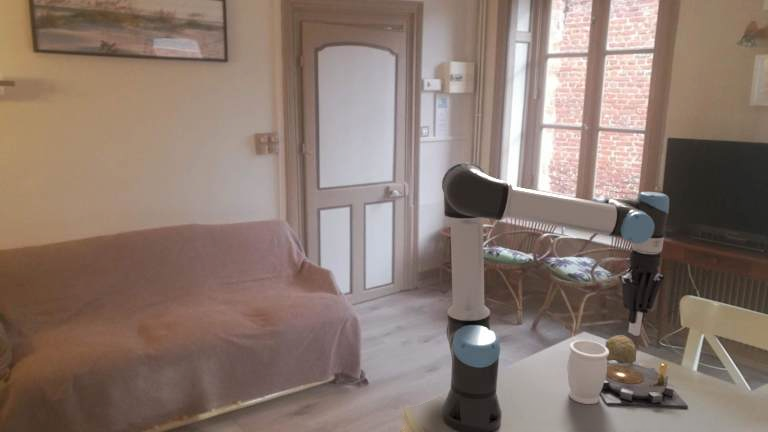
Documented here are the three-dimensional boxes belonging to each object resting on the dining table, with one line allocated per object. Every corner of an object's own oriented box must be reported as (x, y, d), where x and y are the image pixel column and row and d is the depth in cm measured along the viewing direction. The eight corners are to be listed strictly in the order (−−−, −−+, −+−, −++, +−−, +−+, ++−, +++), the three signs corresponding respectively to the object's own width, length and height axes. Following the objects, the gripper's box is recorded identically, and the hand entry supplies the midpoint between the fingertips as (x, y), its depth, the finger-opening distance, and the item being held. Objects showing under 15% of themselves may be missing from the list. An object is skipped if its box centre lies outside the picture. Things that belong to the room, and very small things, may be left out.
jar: (606, 409, 161) (612, 358, 157) (566, 404, 162) (571, 353, 159) (600, 390, 171) (605, 341, 167) (563, 385, 173) (567, 337, 169)
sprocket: (585, 388, 169) (588, 362, 167) (601, 359, 187) (604, 336, 186) (668, 410, 158) (672, 383, 157) (676, 378, 177) (680, 353, 175)
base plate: (582, 367, 184) (582, 364, 184) (653, 370, 184) (654, 367, 183) (606, 405, 163) (606, 401, 162) (687, 408, 162) (688, 404, 162)
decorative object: (621, 363, 196) (607, 335, 198) (648, 356, 189) (633, 327, 190) (607, 374, 190) (593, 345, 192) (635, 368, 183) (619, 337, 184)
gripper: (635, 255, 152) (623, 341, 157) (676, 253, 156) (663, 337, 161) (616, 247, 159) (604, 329, 164) (655, 245, 163) (643, 326, 168)
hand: (633, 333), depth 162 cm, fingers closed
